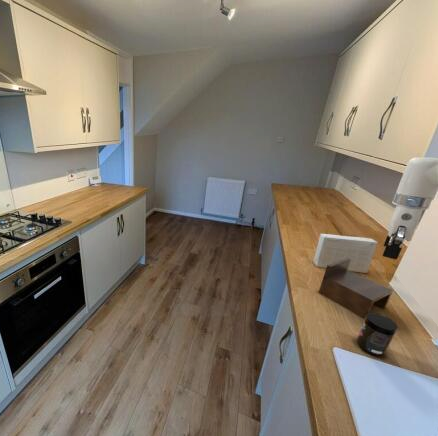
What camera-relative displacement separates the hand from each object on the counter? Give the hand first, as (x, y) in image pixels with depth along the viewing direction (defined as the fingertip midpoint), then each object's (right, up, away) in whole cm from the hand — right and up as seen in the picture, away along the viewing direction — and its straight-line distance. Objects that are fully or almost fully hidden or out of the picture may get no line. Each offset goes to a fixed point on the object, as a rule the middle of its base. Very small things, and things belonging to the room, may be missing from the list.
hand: (389, 252), depth 76 cm
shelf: (+2, -21, +17) cm, 28 cm away
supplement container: (-10, -29, -3) cm, 31 cm away
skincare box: (+16, -13, +40) cm, 45 cm away
